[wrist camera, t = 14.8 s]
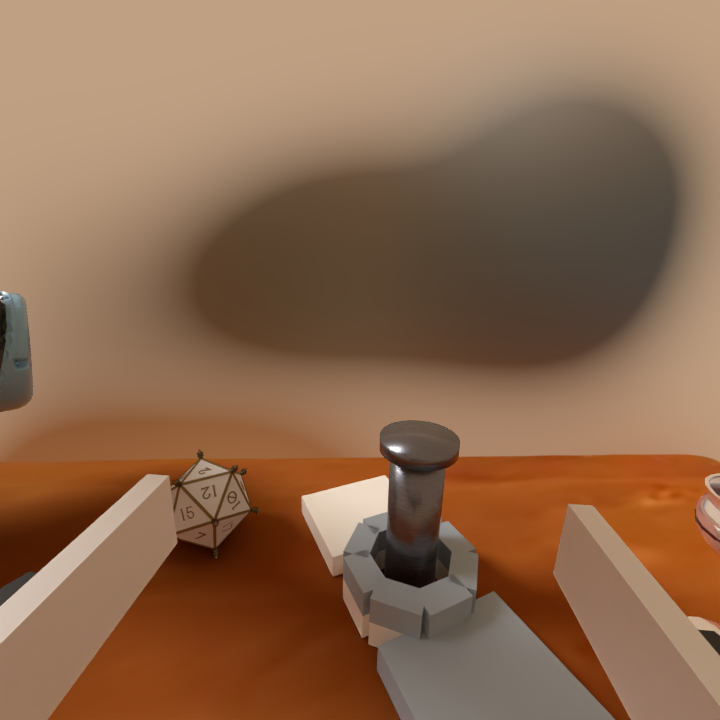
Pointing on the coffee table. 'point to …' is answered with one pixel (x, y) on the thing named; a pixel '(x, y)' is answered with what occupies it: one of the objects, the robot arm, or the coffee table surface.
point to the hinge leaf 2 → (458, 642)
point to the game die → (209, 503)
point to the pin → (415, 497)
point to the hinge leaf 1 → (334, 529)
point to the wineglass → (709, 533)
